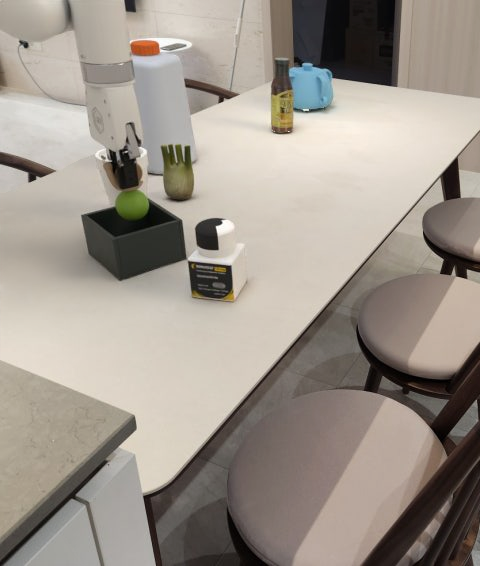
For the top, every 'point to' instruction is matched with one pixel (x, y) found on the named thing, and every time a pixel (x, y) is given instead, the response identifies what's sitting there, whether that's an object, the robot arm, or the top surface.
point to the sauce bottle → (281, 97)
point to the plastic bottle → (161, 102)
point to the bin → (134, 240)
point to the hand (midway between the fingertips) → (125, 184)
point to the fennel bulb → (177, 172)
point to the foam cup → (110, 190)
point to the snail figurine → (128, 195)
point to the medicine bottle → (217, 261)
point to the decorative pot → (311, 87)
